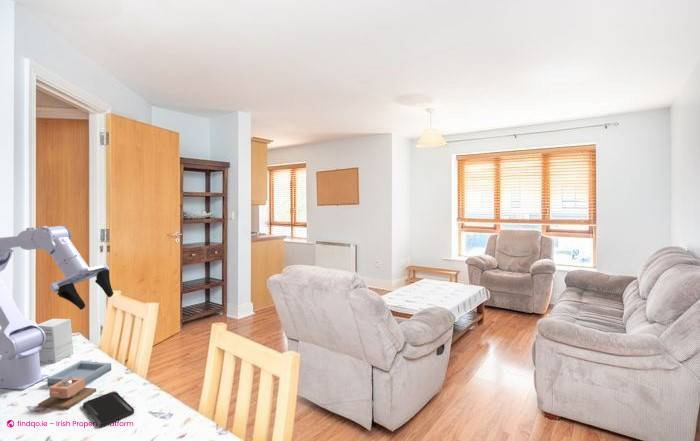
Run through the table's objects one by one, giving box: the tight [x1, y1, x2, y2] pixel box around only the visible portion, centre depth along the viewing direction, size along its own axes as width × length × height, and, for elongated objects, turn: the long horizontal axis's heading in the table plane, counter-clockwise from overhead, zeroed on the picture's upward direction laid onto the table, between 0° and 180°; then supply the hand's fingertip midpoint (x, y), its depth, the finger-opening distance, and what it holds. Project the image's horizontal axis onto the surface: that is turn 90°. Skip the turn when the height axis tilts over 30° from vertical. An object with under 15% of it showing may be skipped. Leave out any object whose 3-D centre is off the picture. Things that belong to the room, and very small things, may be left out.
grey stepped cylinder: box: [58, 377, 78, 400], centre depth 102 cm, size 4×4×5 cm
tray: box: [46, 360, 112, 387], centre depth 114 cm, size 11×11×2 cm
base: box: [37, 387, 97, 410], centre depth 102 cm, size 9×9×1 cm
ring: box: [48, 377, 86, 398], centre depth 101 cm, size 6×6×2 cm
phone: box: [82, 391, 135, 428], centre depth 97 cm, size 8×1×15 cm
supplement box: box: [37, 318, 74, 363], centre depth 128 cm, size 7×7×13 cm
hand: (97, 301), depth 103 cm, fingers open, 7 cm apart
